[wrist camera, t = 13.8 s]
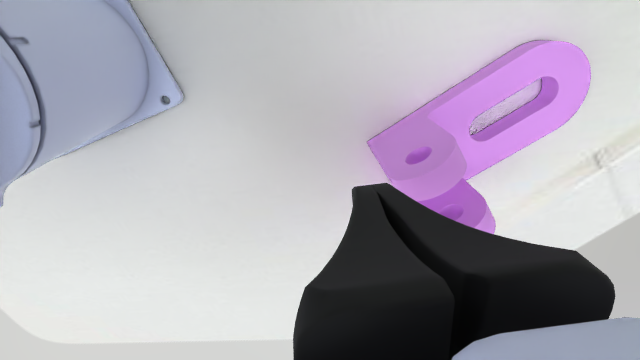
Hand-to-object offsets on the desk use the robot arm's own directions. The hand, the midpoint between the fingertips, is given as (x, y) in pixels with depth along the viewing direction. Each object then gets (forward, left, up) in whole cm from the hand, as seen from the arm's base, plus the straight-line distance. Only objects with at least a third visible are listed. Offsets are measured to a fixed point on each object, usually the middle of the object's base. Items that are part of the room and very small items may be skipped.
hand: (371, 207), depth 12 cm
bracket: (+8, -3, -10) cm, 13 cm away
